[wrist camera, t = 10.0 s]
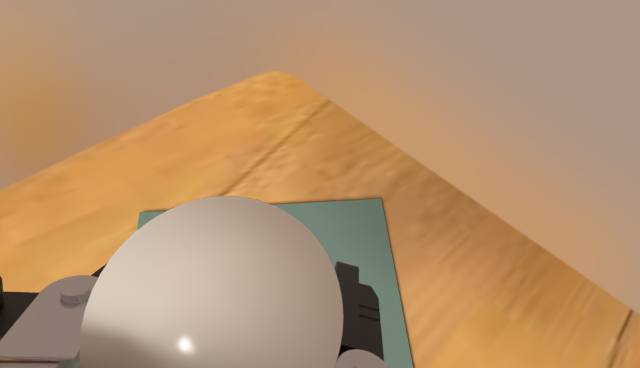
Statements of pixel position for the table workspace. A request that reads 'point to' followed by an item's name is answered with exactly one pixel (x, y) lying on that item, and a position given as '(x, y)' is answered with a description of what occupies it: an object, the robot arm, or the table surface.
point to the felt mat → (356, 258)
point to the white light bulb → (216, 293)
